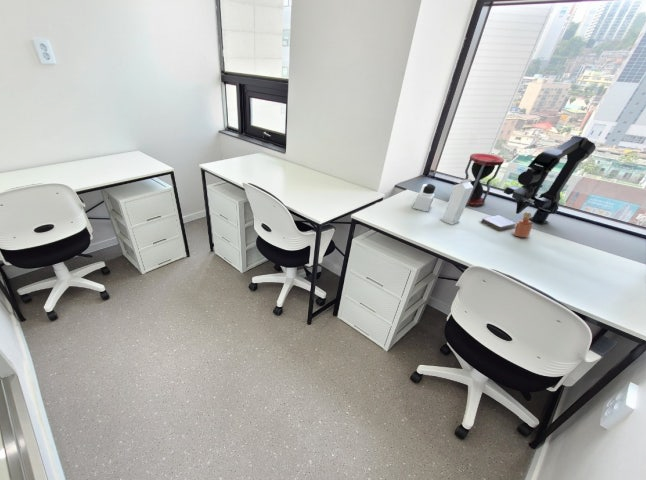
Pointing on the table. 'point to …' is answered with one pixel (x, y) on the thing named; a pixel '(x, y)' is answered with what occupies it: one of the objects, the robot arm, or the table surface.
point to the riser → (498, 222)
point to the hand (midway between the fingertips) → (517, 213)
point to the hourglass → (481, 175)
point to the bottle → (523, 226)
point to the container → (425, 197)
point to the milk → (457, 202)
